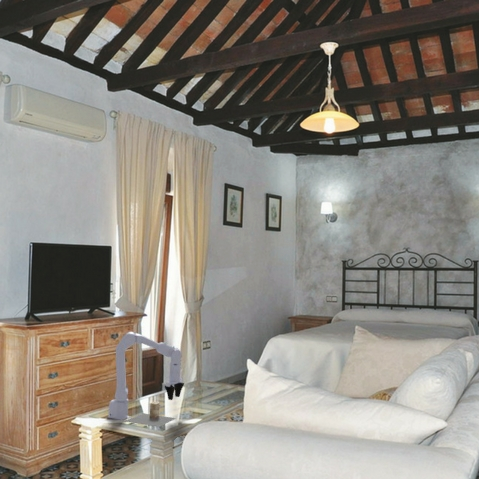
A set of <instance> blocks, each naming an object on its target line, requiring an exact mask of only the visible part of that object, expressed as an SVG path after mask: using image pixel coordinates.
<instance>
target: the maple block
mask: <svg viewBox="0 0 479 479" xmlns="http://www.w3.org/2000/svg"><path fill="white" fill-rule="evenodd" d="M160 406H161V404H160V402H159V401H153V402H150V403H149V414H150V417H151V418H157V417H159V416H160Z"/></svg>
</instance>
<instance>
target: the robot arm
mask: <svg viewBox="0 0 479 479" xmlns="http://www.w3.org/2000/svg"><path fill="white" fill-rule="evenodd" d="M135 344H136V345H139V344H142V345H146V346H148V347H150V348H153V349H155V350H156V353H158V354H160V355H162V356H165V357H167V358H170V363H169V378H168V381H167V382H166V384H165V385H164V390H165V392H166V394H167V399H168V400H170V401H173V400H174V396H175V398H180V396H181V393H182V390H183V387H184V385H185V382H184V381H183V380H184V378H182V377H181V375H182V374H181V372H182V371H181V369H182V362H181V361H182V357H183V356H182V351H181V349H180V348H178V347H175V346H174V345H173V346H172V345H170V344H167V342H165V341H164V342H157V341H155V340H153V339H150V338H148V337H147V336H145V335H142V334H140V333H138V332H136V333H135V332H134V331H128V332H127V333H125V334H124V335H122V338H121V339H120V340H119V341H118V344H117V345H116V346H115V366H116V368H115V370H116V372H115V373H116V389H115V390H116V391H115V393H114V399H111V400H110V401H109V404H108V416H107V418H108V419H115V420H122V421H125V420H126V419H128V418H129V419H130V418H132V416H131V415H129V398H128V395H129V388H128V386H127V379H126V377H127V374H126V373H127V372H126V371H127V370H126V351H127V349H129V348H130V347H132V346H134V345H135Z"/></svg>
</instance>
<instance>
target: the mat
mask: <svg viewBox="0 0 479 479" xmlns="http://www.w3.org/2000/svg"><path fill="white" fill-rule="evenodd" d="M176 419H177V418H176V417H171V416H170V417H169V416H165V415H159V417H157V418H151V417H150V413H140V414H138V415H136V416H133V417H130V418H129V419H128V418H127V420H126V419H125V420H124V422H125V423H126V422H127V423H133V424H140V425H144V426H152V427H157V428H158V427H159V428H160V427H162V426H164V425H165V424H167V423H170V422H171V421H174V420H176Z"/></svg>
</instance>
